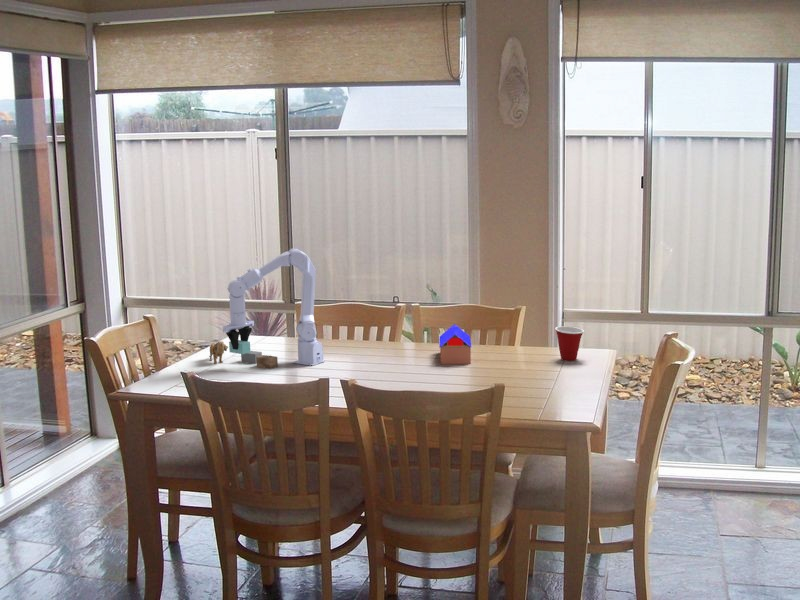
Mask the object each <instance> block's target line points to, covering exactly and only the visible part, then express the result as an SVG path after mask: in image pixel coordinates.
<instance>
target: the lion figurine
mask: <svg viewBox="0 0 800 600" xmlns="http://www.w3.org/2000/svg"><path fill="white" fill-rule="evenodd" d="M228 349H229V345H226V344H225V343H224V341H221V340H220V341H218V342H217V341H216V343H211V344H210V346H209V355H208V356H209V362H212V361H213V365H217V364H218V362H219V363H220V364H223V363H224V361H223V360H222V359H223V355H224V354H225V352H227V350H228ZM218 358H219V360H218V361H217V359H218Z"/></svg>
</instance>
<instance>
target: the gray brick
mask: <svg viewBox="0 0 800 600" xmlns="http://www.w3.org/2000/svg"><path fill="white" fill-rule="evenodd" d="M261 355H263V352H262V351H255V350H250V352H249V353H246V354H240V357H241V358H240V359H241V363H247V364H256V365H257V362H256V357H258V356H261Z"/></svg>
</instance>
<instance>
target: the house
mask: <svg viewBox="0 0 800 600" xmlns="http://www.w3.org/2000/svg"><path fill="white" fill-rule="evenodd" d="M438 347H439V349H440V351H439V352H440V365H462V364H463V365H468V364H469V365H471V364H472V363H471V361H472V359H471V358H472V357H471V356H472V355H471V354H472V353H471V348H472V342H471V337H470V335H469V334H468V333H466V332H465V331H464V330H463V329H461V328H460V327H459V326H458V325H456V324H453V325H451V327H449V328H448V329H447V330H446V331H445V332H443V333H442V334H441V335H440V336H439V346H438Z"/></svg>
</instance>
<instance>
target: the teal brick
mask: <svg viewBox="0 0 800 600" xmlns="http://www.w3.org/2000/svg"><path fill="white" fill-rule="evenodd" d="M228 344H229V345H228V349H229V353H233V354H238V355H241V354H246V353H249V352H250V351H251V341H249V340H248V341H241V339H240V340H239V339H238V349H237V350H236V349H233V347H232V344H231V342H230V341H228Z"/></svg>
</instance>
